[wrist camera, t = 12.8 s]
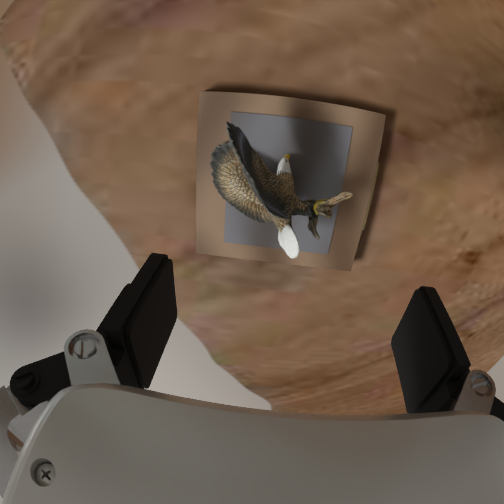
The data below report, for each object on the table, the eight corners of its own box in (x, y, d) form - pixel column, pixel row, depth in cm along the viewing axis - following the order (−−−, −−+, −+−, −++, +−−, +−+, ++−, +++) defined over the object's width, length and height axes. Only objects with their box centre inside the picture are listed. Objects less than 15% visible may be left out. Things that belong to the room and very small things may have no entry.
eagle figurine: (353, 150, 20) (237, 93, 18) (355, 237, 17) (208, 177, 15) (299, 197, 27) (203, 159, 24) (290, 272, 24) (178, 235, 21)
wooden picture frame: (383, 113, 21) (390, 115, 20) (350, 262, 28) (353, 272, 27) (204, 90, 22) (199, 91, 20) (200, 245, 29) (195, 253, 27)
